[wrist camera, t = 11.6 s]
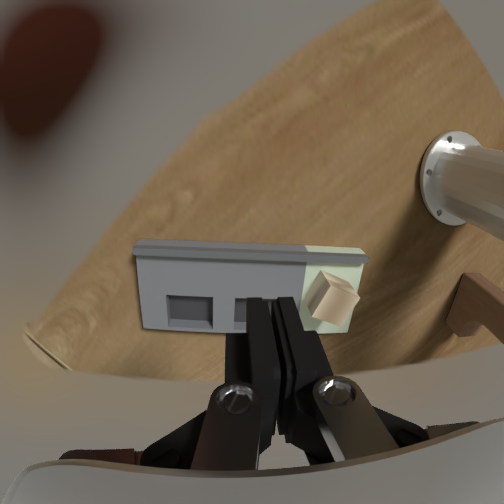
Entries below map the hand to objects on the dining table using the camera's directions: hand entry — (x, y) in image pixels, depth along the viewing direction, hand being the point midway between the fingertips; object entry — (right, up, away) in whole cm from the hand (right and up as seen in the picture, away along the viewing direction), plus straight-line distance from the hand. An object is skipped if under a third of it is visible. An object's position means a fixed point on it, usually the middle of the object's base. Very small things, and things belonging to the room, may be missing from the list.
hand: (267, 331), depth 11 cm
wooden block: (+33, -4, +30) cm, 45 cm away
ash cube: (+8, -2, +25) cm, 26 cm away
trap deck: (-1, -1, +26) cm, 26 cm away
